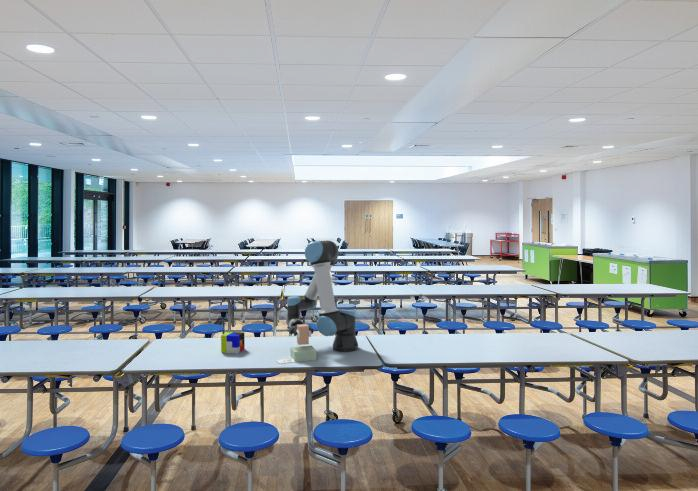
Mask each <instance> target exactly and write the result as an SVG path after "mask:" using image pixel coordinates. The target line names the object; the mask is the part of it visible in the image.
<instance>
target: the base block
mask: <svg viewBox="0 0 698 491" xmlns="http://www.w3.org/2000/svg"><path fill="white" fill-rule="evenodd" d="M290 357H291V358H293V360H294V361H298V362H304V361H305V362H306V361H316V360H317V350H316V348H314V346H313V345H303V346H302V345H298V346H290Z"/></svg>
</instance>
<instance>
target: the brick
mask: <svg viewBox="0 0 698 491" xmlns="http://www.w3.org/2000/svg"><path fill="white" fill-rule="evenodd" d="M297 330H298V331H299V332H300V338H298V336H297V335H296V343H297V345H298V346H302V345H303V346H307V345H310V337H309V325H308V323H305V324H304V323H303V324H300V325H297Z"/></svg>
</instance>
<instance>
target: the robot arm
mask: <svg viewBox="0 0 698 491" xmlns="http://www.w3.org/2000/svg"><path fill="white" fill-rule="evenodd" d="M339 254H340V253H339V247H338V245H337V244H336V243H335V242H334V241H333V240H332V241H331V240H314V241H311V242H309V243H308V244H307V245H306V247H305V248H304V256H305V259H306V260H307V261H308V262H309V264H310V267H312V268H313V270H314V274H313V276H312V279H311V281H310V283H309V285H308V287H307V289H306V292H305V294H304V295H303V297H302V298H301V297H300V296H297V295H293V296H292V295H291V296H288V297H287V303H286V305H287V308H286V310H287V313H286V314H287V315H286V316H287V318H286V325H287V328H286V329H287V332H288V333H289V334H290V335H291V336H292V335H293V336H294V337H297V336H298V338H300V332H299V331H298V330H297V325H300V324H304V322H303V321H302V320H301V312H302V311H307V310H312V309H314V308H316V307H317V305H318V301H319V305H320V310H319V312H318V316H319V317H318V318H317V320H316V328H317V331H318V332H319V333H320V334H321V335H323V336H324V337H331V336H334V335H335V337H334V340H333V343H332V350H334V351H337V352H354V351H358V350H359V343H358V339H357V336H356V312H355V311H354V310H351V309H346V308H345V309H343V308H342V309H341V308H340V309H339V308H338V307H336V302H335V301H336V300H335V294H334V289H333V282H332V277H331V272H330V271H331V269H332V267H333V266H335V265H336V262H337V261H338V257H339ZM317 298H318V300H317ZM308 326H309V338H311V337H312V334H314V328H313V327H312V326H311V325H308Z"/></svg>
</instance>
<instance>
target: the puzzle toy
mask: <svg viewBox="0 0 698 491" xmlns="http://www.w3.org/2000/svg"><path fill="white" fill-rule="evenodd" d="M245 349H246V348H245V332H244V331H243V332H242V331H241V332H239V331H227V332H225V333H223V334H221V335H220V353H221V352H224V353H225V354H239V353H241V352H242V351H244V350H245Z"/></svg>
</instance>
